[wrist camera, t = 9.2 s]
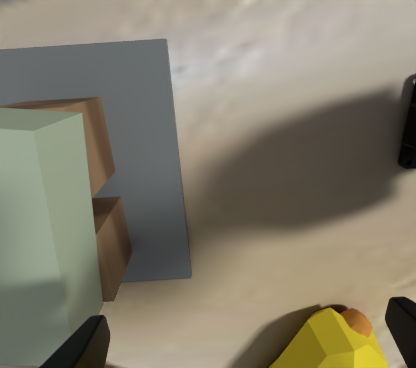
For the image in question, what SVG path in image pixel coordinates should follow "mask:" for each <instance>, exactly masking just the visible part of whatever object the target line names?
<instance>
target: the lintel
mask: <svg viewBox="0 0 416 368" xmlns="http://www.w3.org/2000/svg"><path fill="white" fill-rule="evenodd" d="M102 306H103V298H102V289H101V280H100V271H99V262H98V253H97V244H96V235H95V226H94V217H93V208H92V199H91V190H90V181H89V172H88V163H87V153H86V144H85V135H84V126H83V117H82V113H77V112H61V111H46V110H30V109H14V108H0V365H12V366H41V365H42V364H43V363H44V362H45V361H46V360H47V359H48V358H49V357H50V356H51V355H52V354H53V353H54V352H55V351H56V350H57V349H58V348H59V347H60V346H61V345H62V344H63V343H64V342H65V341H66V340H67V339H68V338H69V337H70V336H71V335H72V334H73V333H74V332H75V331H76V330H77V329H78V328H79V327H80V326H81V325H82V324H83V323H84V322H85V321H86V320H87V319H88V318H89V317H90V316H93V315H99V313H100V311H101V308H102Z"/></svg>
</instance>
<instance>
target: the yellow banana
mask: <svg viewBox="0 0 416 368" xmlns="http://www.w3.org/2000/svg"><path fill="white" fill-rule="evenodd" d="M268 368H388V365H387V362H386V360H385V358H384V355H383V353H382V351H381V349H380V346H379V344H378V342H377V340H376V338H375V335H374V333H373V331H372V325H371V323H370V322H369V320H368V319H367V318H366V316H365V315H364V314H362V313H361V312H359V311H358V310H355V309H353V308H351V309H349V310H346V311H343V312H342V313H340V314H339V313H337V312H336V311H334V310H333V309H331V308H326V309H323V310H319V311H317V312H315V313H313V315H312V316H311V317H310V318H309V319H308V320H307V322H306V323H305V324H304V325H303V327H302V328H301V329H300V331H299V332H298V333H297V335H296V336H295V337H294V338H293V340H292V341H291V342H290V344H289V345H288V346H287V347H286V349H285V350H284V351H283V353H282V354H281V355H280V357H279V358H278V359H277V360H276V361H275V362H274V363H272V364H271V365H270V366H269V367H268Z"/></svg>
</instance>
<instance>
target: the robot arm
mask: <svg viewBox="0 0 416 368" xmlns="http://www.w3.org/2000/svg"><path fill="white" fill-rule="evenodd" d="M407 159H408V162H407V163H405V162H406V160H407ZM398 164H399V166H401V167H403V168H405V169H413V168H416V82H415V86H414V91H413V95H412V100H411V104H410V107H409V111H408V116H407V120H406V125H405V129H404V134H403V138H402V145H401V149H400V154H399V159H398ZM385 321H386V324H387V326H388V328H389V330H390V332H391V334H392V336H393V338H394V341H395V343H396V345H397V347H398V349H399V351H400V353H401V355H402V357H403V359H404V361H405V363H406V365H407V367H408V368H416V303H415V302H413V301H412V300H410V299H408V298H406V297H392V298H390V299H389V302H388V306H387V310H386V314H385ZM109 343H110V331H109V327H108V324H107V320H106V317H105V316H104V315H93V316H90V317H89V318H88V319H87V320H86V321H85V322H84V323H83V324H82V325H81V326H80V327H79V328H78V329H77V330H76V331H75V332H74V333H73V334H72V335H71V336H70V337H69V338H68V339H67V340H66V341H65V342H64V343H63V344H62V345H61V346H60V347H59V348H58V349H57V350H56V351H55V352H54V353H53V354H52V355H51V356H50V357H49V358H48V359H47V360H46V361H45V362H44V363H43V364H42V365H41V366H40V367H39V368H104V367H105V362H106V357H107V352H108V348H109Z"/></svg>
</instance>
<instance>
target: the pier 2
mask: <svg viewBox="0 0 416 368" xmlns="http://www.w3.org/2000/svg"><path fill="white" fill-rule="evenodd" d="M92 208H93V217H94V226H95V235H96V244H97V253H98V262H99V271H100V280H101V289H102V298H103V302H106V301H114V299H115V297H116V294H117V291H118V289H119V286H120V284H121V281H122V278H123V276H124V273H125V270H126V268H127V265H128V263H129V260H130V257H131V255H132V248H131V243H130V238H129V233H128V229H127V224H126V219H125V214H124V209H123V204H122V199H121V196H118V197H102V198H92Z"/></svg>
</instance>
